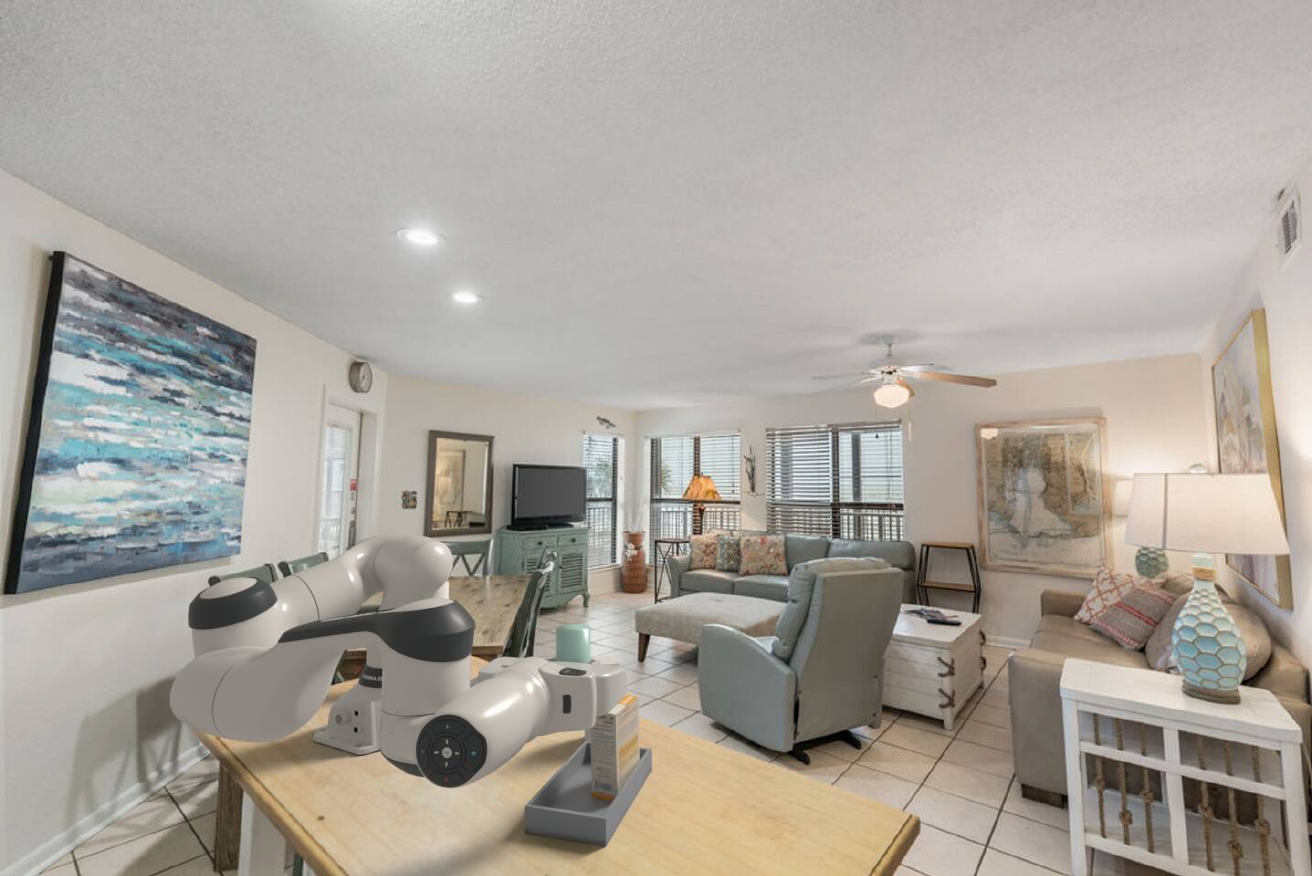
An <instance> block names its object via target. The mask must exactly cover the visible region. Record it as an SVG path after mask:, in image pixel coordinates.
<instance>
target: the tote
mask: <svg viewBox="0 0 1312 876" xmlns="http://www.w3.org/2000/svg"><path fill="white" fill-rule="evenodd" d="M639 750H640V761H639V763H638V764H637V766H636V767H635V769H634V770H633V772H632V773H631V775H630V776H629V778H628V779H627V781H626V782H625V784H624V785H623V787H622V788H621V790H620V791H619V793H618V794H617V796H616V797H615V799H614V801H613V802H612V801H607V800H603V799H599V798H594V797H592V785H591V741H585V740H584V742H583V743H581V745H580V746H579V747H578V748H577V749H576V750H575V752H573V754H571V756H570V757H569V758H568V759H567V760H566V761H565V762H564V763H563V764H562V765H561V767H560V768H559V769H557V771H556V772H554V774H553V775H552V776H551V777H550V778H549V779H548V780H547V782H545V784H543V786H542V787H541V788H540V789H539V790H538V791H537V792H535V794H534V795H533V797H532V798H531V799H530V800H529V801H528V802H527V803H526V804H525V805H524V834H530V835H536V836H543V837H548V838H554V839H561V840H565V841H572V842H577V843H584V844H589V845H596V846H599V847H600V846H601V847H607V846H608V845H609V842H610V841H611V840H612V838H613V836H614V834H615V833H616V831H617V829H618V827H619V826H620V824H621V822H622V821H623V820H624V818H625V816H626V814H627V812H628V811H629V809H630V807H631V806H632V804H633V803H634V801H635V800H636V798H637V796H638V794H639V793H640V791H641V789H642V788H643V786H644V784H645V782H646V780H647V779H648V778H649V776H650V774H651V772H652V771H653V762H652V761H653V760H652V759H653V758H652V757H653V755H652V753H653V751H652V748H649V747H642V746H639Z"/></svg>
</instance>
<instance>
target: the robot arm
mask: <svg viewBox="0 0 1312 876" xmlns="http://www.w3.org/2000/svg"><path fill="white" fill-rule="evenodd" d="M453 558H454V557H453V554H452V552H451V549H450V548H449V547H448V545H446V544H445V543H443V542H441V541H439V540H436V539H434V538H431V537H429V536H426V535H425V536H423V535H406V534H405V535H404V534H403V535H402V534H399V535H397V534H379V535H378V534H377V535H373V536H369V537H367V538H364V539H362V540H360V541H358V542H357V543H355V545H353V547H352V548H350V549H348V550H345V551H344V552H343V553H341V554H339V555H338V556H336V557H334V558H332V559H329V560H327V561H324V562H322V563H319V564H316V565H314V566H310V567H309V568H306V569H303V570H301V571H298V572H295V573H293V574H290V575H287V576H285V577H283V578H281V579H278V580H275V581H273V582H271V583H269V582H268V581H266V580H263V579H261V578H259V577H256V576H246V577H244V576H243V577H235V578H229V579H226V580H222V581H220V582H217V583H215V584H213V585H211V586H208V587H206V588H204V589H203V590H200V591H199V593H198V594H197V595H196V596H195V597H194V598H193V599H192V600H191V602H190V603H189V606H188V611H187V612H188V613H187V614H188V615H187V616H188V617H187V618H188V622H187V623H188V627H189V628H190V629H191V639H192V649H193V654H194V658H193V659H192V660H191V661H190V662H188V663H187V664H186V665H185V666H184V667H183V668H182V669H181V670H180V672H179V673H178V674H177V675H176V677H175V679H174V681H173V683H172V684H171V689H170V691H169V692H170V693H169V706H170V708H171V709H170V710H171V711H172V713H173V715H174V716H175V718H176V719H177V720H178V721H180V722H181V723H183V724H185V725H187V726H189V727H190V728H193V729H194V730H197V731H199V732H202V733H205V734H207V735H211V736H214V737H218V738H222V739H226V740H227V739H228V740H232V741H236V742H237V741H239V742H243V743H250V744H251V743H256V744H257V743H258V744H260V743H270V742H277V741H279V740H282V739H284V738H286V737H289V736H291V735H293V734H294V733H295V732H297V731H299V730H300V729H301V728H303V727H304V726H305V725H306V724H307V723H308V722H309V721H310V720H311V719H312V718H313V717H314V715H316V714H317V713H318V711H319V709H320V708H321V707H322V705H323V704H324V702H325V700H326V698H327V696H328V694H329V692H330V690H331V689H330V688H331V685H332V682H333V678H334V676H335V672H336V669H337V667H338V664H339V662H340V660H341V658H342V656H343V655H344V653H345V651H348V650H349V651H350V650H355V649H364V648H366V662H364V664H362V665H360V666H357V667H355V668H354V670H356V671H354V672H353V673H354V675H356V674H359V673H360V675H359V678H358V681H357V683H356V684H355V685H353V686H352V687H351V688H350V689H349V690H348V691H346V692H344V694H343V695H341V696H340V697H339V698H338V699H336V700H335V701H334V702H333V703H332V704H331V707H330V710H329V713H328V719H327V724H326V725H324V726H322V727H321V728H319V729H317V731H316V732H315V733H314V735H313V736H312V741H313V742H317V743H319V744H322V745H326V746H329V747H332V748H335V749H338V748H339V749H338V750H341V749H342V751H345V752H349V753H351V754H355V755H361V756H362V755H367V754H370V753H373V752H377V751H380V754H381V755H382V756H383V758H385V760H386V761H387V762H388V763H390V764H391V765H393V767H396V768H397V769H398V770H400V771H402V772H404V773H405V774H407V775H412V776H413V777H418V778H425V779H426V780H428V782H430V783H431V784H433V785H434V786H437V787H441V788H445V789H458V788H462V787H465V786H468V785H470V784H473V783H475V782H477V781H480V780H482V779H484V778H485V777H487V776H489V775H490V774H492V773H494V772H496V770H498V769H500V768H501V767H502V766H503V765H505V764H506V763H508V762H509V761H510V760H511V759H513V758H514V757H515V756H516V755H517V754H518V753H519V752H521V751H522V749H523V748H524V747H525V745H526V744H527V743H530V742H532V741H533V740H535V739H537V737H545V736H548V735H549V736H550V735H552V734H556V733H561V732H562V733H564V732H565V733H566V732H575V731H577V732H578V731H585V730H589V729H591V728H592V727H593V726H594V725H595V722H596V717H599V716H602V715H604V714H606V713H608V712H609V711H610V710H612V709H613V708H614V707H615V706H616V705H617V704H618V703H619V702H620V701H621V700H622V699H623V698H624V697H625V695H626V692H628V691H627V690H628V675H627V670H626V668H625V667H623V666H621V665H620V666H611V665H600V660H594V659H590V661H588V662H587V663H575V662H563V661H556V656H550V657H548V658H542V657H540V656H539V657H538V656H527V657H524V658H523V657H513V656H502V657H497V658H494V659H493V660H491V661H490V662H488V663H487V664H485V665H483V666H482V667H481V668H480V669H479V671H478V676H476V677H473V678H471V677H472V676H471V670H472V669H471V667H472V652H473V647H474V646H473V645H474V636H475V630H476V629H475V628H476V621H475V619H474V618H473V617H472V615H471V614H470V613H469V612H468V610H467V609H466V608H465V607H464V606H463V605H462V604H461V603H460V602H459V601H457V600H456V599H445V598H435V595H436V593H437V591H438V590H439V588H440V587H441V586H442V585H443V584H444V583H445V582H446V581H448V579H449V578H450V576H451V574H452V571H453V567H454V559H453ZM380 593H382V594H383V595H382V598H381V602H380V606H379V608H378V610H372V611H367V612H362V613H358V612H359V611H360V609H361V607H362V605H363V604H364V603H365V602H366V601H368V600H369V599H371V597H373V596H375V595H377V594H380Z"/></svg>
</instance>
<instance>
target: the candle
mask: <svg viewBox="0 0 1312 876" xmlns="http://www.w3.org/2000/svg"><path fill="white" fill-rule="evenodd" d="M555 630H556V631H555V639H556V641H555V647H556V648H555V657H556V661H563V662H575V663H587V662H588V661H590V660H591V626H590V625H589V624H584V623H583V624H582V623H568V624H562V625H559V626H557V627H555Z"/></svg>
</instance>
